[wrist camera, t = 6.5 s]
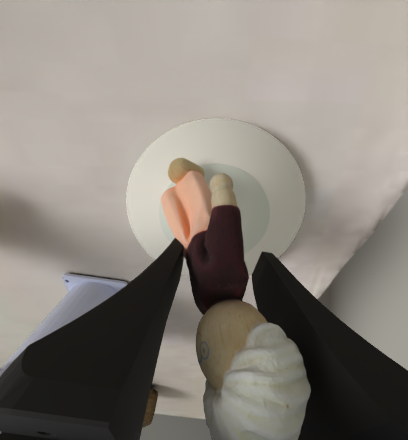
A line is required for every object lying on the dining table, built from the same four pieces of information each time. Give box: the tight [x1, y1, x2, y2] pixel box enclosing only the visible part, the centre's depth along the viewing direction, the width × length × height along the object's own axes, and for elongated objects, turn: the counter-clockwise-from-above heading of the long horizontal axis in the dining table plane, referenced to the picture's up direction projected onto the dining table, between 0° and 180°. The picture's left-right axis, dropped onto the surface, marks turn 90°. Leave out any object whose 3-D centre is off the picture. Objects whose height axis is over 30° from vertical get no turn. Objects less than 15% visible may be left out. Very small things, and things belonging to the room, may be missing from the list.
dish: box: [126, 118, 306, 278], centre depth 16 cm, size 16×16×1 cm
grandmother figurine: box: [161, 158, 311, 440], centre depth 9 cm, size 8×4×13 cm, turn 1°
